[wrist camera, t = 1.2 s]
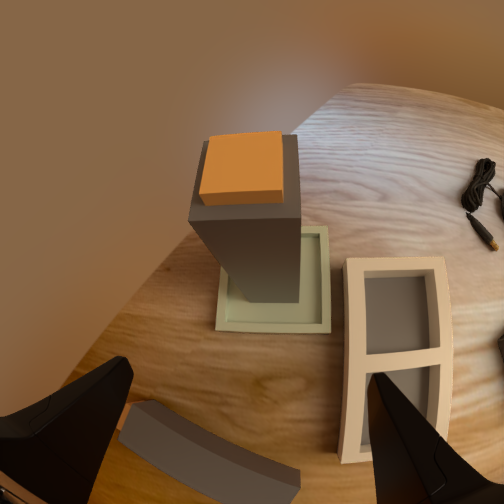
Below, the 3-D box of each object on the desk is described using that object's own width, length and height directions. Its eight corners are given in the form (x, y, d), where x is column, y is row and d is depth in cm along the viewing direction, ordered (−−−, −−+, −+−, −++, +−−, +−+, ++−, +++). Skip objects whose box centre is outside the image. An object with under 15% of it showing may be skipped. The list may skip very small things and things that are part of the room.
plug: (298, 303, 22) (301, 205, 8) (249, 302, 23) (180, 210, 9) (299, 256, 23) (296, 120, 10) (252, 256, 24) (198, 128, 11)
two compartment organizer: (433, 438, 16) (445, 444, 13) (336, 453, 17) (341, 463, 15) (432, 266, 22) (444, 256, 19) (341, 268, 23) (346, 258, 21)
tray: (329, 334, 21) (331, 332, 20) (219, 331, 23) (215, 330, 21) (326, 232, 24) (327, 225, 23) (228, 233, 26) (224, 227, 25)
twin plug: (300, 469, 17) (300, 488, 14) (278, 501, 16) (275, 523, 12) (148, 394, 21) (124, 397, 18) (134, 426, 20) (110, 433, 17)
